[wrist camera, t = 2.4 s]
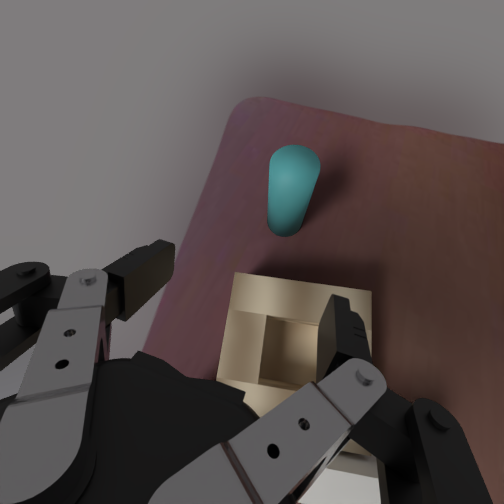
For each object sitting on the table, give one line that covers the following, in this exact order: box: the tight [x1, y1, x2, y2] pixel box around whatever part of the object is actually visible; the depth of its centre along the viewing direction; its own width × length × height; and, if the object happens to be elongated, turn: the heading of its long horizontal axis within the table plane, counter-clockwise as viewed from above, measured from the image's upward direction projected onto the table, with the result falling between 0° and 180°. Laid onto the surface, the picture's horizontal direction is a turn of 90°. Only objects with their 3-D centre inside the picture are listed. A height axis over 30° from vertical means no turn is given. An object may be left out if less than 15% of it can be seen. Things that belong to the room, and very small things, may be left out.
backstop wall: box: [298, 451, 381, 504], centre depth 19 cm, size 20×2×7 cm, turn 81°
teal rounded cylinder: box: [267, 145, 320, 237], centre depth 25 cm, size 4×4×10 cm
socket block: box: [216, 272, 372, 456], centre depth 23 cm, size 12×12×5 cm
